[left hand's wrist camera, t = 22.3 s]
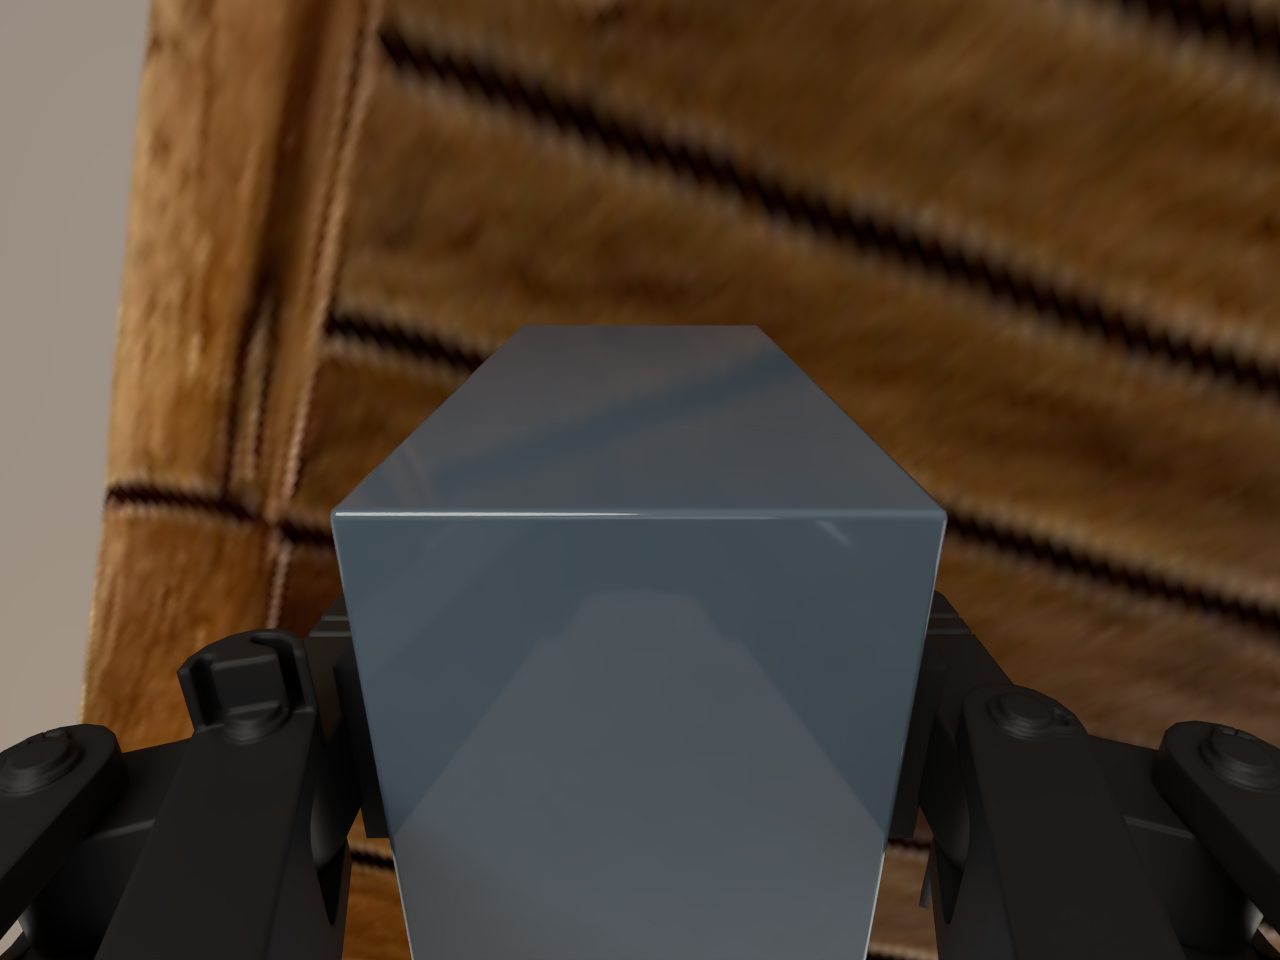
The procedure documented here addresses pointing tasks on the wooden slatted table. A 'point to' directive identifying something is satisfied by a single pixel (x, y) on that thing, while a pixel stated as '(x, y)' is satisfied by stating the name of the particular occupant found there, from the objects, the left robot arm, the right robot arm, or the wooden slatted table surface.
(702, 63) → the wooden slatted table surface
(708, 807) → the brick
